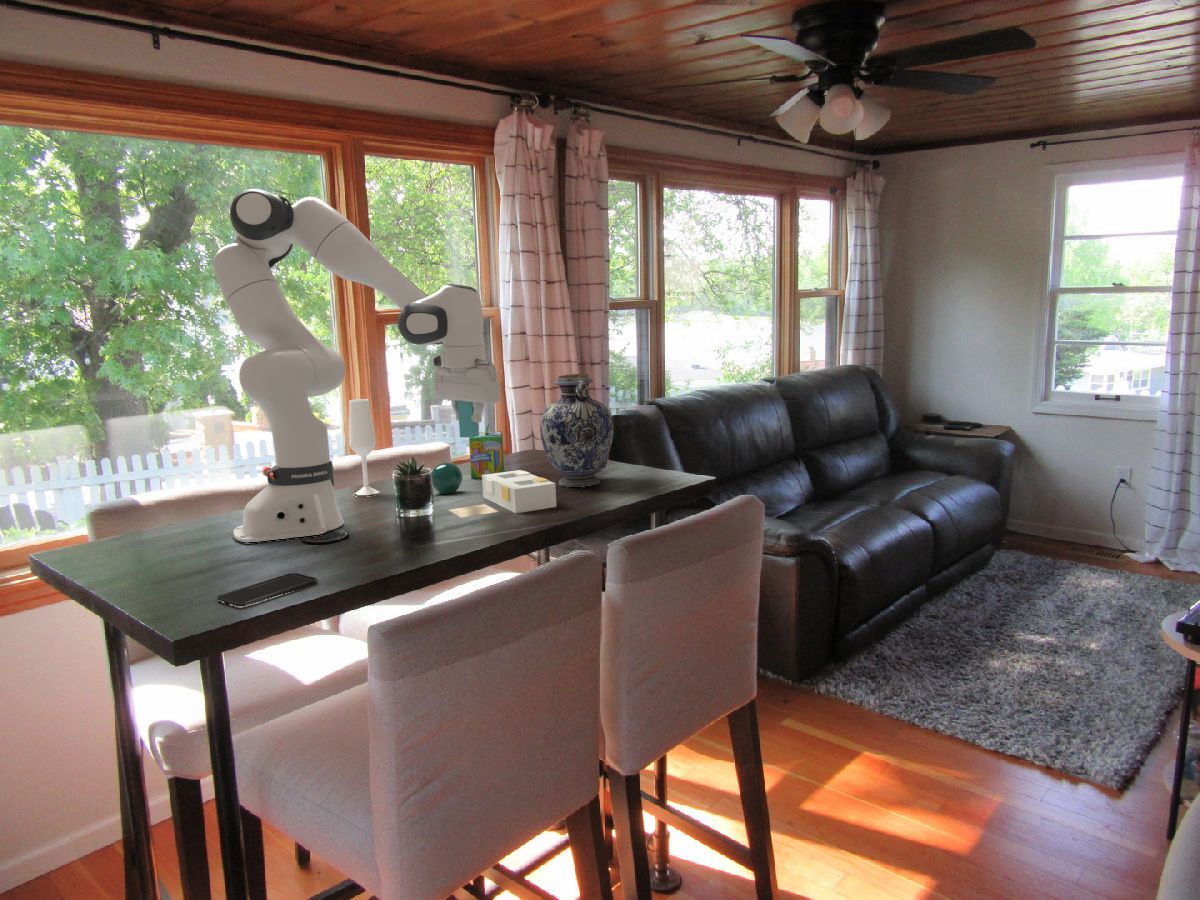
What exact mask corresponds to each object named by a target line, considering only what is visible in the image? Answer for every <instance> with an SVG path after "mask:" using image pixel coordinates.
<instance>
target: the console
mask: <svg viewBox="0 0 1200 900" xmlns="http://www.w3.org/2000/svg"><path fill="white" fill-rule="evenodd" d="M481 481H482V482H481V483H482V496H483V498H485V499H486V500H488V501H490V502H492V503H494V504H496V505H498V506H501V507H503V508H504V509H506V510H508V511H510V512H512V513H514V514H520V513H526V512H532V511H533V512H534V511H537V510H538V511H539V510H546V509H551V508H556V507H557V494H556V493H557V492H556V490H557V489H556V483H555V482H553V481H550V480H549V479H547V478H544V477H539V476H537V475H535V474H532V473H531V472H528V471H526V470H522V469H519V470H511V471H504V472H501V473H494V474H487V475H482V478H481Z"/></svg>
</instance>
